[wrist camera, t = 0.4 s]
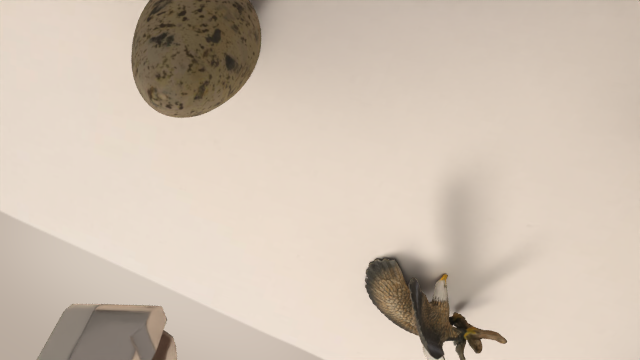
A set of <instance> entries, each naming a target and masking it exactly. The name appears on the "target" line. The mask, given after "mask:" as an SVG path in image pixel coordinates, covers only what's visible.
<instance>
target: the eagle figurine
mask: <svg viewBox="0 0 640 360" xmlns="http://www.w3.org/2000/svg"><path fill="white" fill-rule="evenodd" d="M366 275H367V277H368V278H366V279H365V281H366V283H367V284H366V286H365V287H366V289H367V293H368V294H369V297H370V299H371V300H372V302H373V304H374V305H375V306H377V308H378V309H379V310H380V312H381V313H383V314H385V316H386V317H387V318H388V319H389V320H391V321H392V322H393V323H394V324H396V325H398V326H399V327H400V328H403V329H404V330H406V331H409V332H410V333H413V334H415V335H419V336H420V340H421V342H422V344H423V352H424V355H425V357H426V359H427V360H445V358H444V356H443V355H444V351H443V349H442V346H443V343H444V342H445V341H453V340H454V345H457V346H456V352H457V353H458V355H459V358H460V360H465V357H464V347H465V344H466V340H468V343H469V345H470V346H471V347H472V349H473V350H474V351H475V353H480V352H481V351H482V343H481V340H480V339H482V338H484V339H492V340H496V341H498V342H500V343H503V344H505V343H507V340H506V339H505V338H504V337H502V336H501V335H500V334H499V333H497V332H494V331H489V330H481V329H478V328H475V327H473V326H472V325H470V324H468V323H467V321H466V320H465V318H464V317H463V316H462V315H461V314H458V313H456V312H454V313H453V316H452V317H449V304H448V297H447V285H446V279H447V277H448V275H446V274H445V275H443V276H442V278H441V279H440V280H439V281H438V282H437V283H436V285H435V289H434V295H433V299H432V301H431V302H430V303H429V302H428V299H427V297H426V295H425V294H424V293H423V292H422V291H421V289H420V286H419V283H418V281H417V280H416V279H415V278H412V280H410V283H408V286H409V287H408V286H407V284H406V283H405V280H404V277H403V274H402V272H401V270H400V267H399V265H398V264H397V262H396V260H394V259H393V260H391V261H390V260H388V259H386V258H384V259H383V260H382V261H381V260H379V259H375V260H374V262H371V263H369V270H366ZM453 325H454V326H456V327H457V328H455V327H453Z"/></svg>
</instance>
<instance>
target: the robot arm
mask: <svg viewBox="0 0 640 360" xmlns="http://www.w3.org/2000/svg"><path fill="white" fill-rule="evenodd" d="M166 321H167V318H166V316H165V313H164V311H163V308H162V307H161V306H146V305H114V304H72V305H71V306H69V307H68V308H67V309H66V310H65V311H64V312H63V314H62V316H61V317H60V319H59V321H58V323H57V324H56V326H55V328H54V330H53V332H52V333H51V335H50V337H49V339H48V341H47V342H46V344H45V346H44V348H43V349H42V351H41V353H40V355H39V356H38V358H37V360H177V352H176V345H175V342H174V339H173V337H172V336H171V335H170V334H168V333H167V332H166V331H164V327H165V324H166Z"/></svg>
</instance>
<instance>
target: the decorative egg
mask: <svg viewBox="0 0 640 360" xmlns="http://www.w3.org/2000/svg"><path fill="white" fill-rule="evenodd" d="M260 47H261V29H260V24H259V20H258V17H257V14H256V12H255V10H254V8H253V6H252V4H251V3H250V1H249V0H150V1H149V2H148V4H147V5H146V6H145V8H144V10H143V12H142V14H141V16H140V18H139V20H138V23H137V26H136V29H135V33H134V38H133V44H132V71H133V77H134V80H135V83H136V86H137V88H138V90H139V92H140V94H141V96H142V97H143V99H144V100H145V101H146V102H147V103H148V104H149V105H150V106H151V107H152V108H153V109H155V110H156V111H158V112H160V113H162V114H164V115H167V116H171V117H178V118H184V117H193V116H198V115H201V114H204V113H207V112H209V111H211V110H213V109H215V108H217V107H218V106H220V105H222V104H223V103H225V102H226V101H227V100H229V99H230V98H231V97H233V96H234V95H235V94H236V93H237V92H238V91H239V90H240V89H241V88H242V87H243V85H244V84H245V83H246V81H247V80H248V79H249V77H250V75H251V74H252V72H253V70H254V68H255V66H256V63H257V60H258V57H259V53H260Z"/></svg>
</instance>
